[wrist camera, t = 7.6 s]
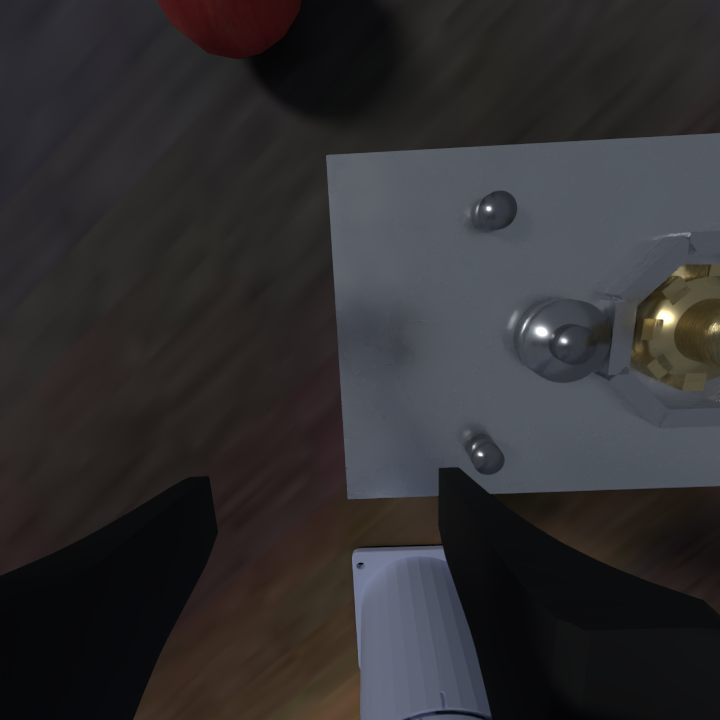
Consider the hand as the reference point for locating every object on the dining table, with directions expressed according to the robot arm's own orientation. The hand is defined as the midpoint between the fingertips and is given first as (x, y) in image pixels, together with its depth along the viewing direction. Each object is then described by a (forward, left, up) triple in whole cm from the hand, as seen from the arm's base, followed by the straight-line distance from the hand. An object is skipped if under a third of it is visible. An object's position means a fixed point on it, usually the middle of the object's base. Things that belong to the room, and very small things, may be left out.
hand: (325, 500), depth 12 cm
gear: (+3, -18, -9) cm, 20 cm away
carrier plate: (+3, -11, -10) cm, 15 cm away
